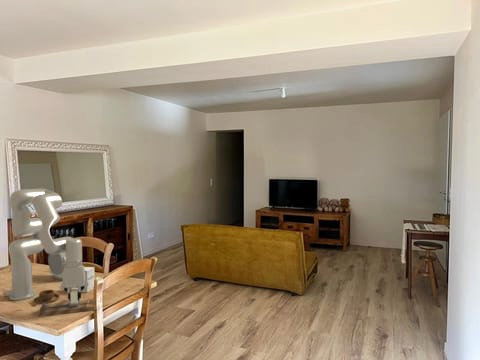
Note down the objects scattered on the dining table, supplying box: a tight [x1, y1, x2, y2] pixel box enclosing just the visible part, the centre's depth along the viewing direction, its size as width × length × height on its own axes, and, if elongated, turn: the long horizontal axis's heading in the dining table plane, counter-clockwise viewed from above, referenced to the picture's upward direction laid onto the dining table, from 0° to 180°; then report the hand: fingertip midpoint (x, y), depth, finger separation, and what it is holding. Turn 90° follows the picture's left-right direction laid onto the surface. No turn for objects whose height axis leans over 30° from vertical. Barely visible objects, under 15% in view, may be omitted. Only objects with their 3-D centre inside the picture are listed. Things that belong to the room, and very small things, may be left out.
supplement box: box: [75, 266, 96, 294], centre depth 201 cm, size 7×7×13 cm
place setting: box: [30, 289, 60, 307], centre depth 185 cm, size 18×20×6 cm
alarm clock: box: [47, 252, 66, 282], centre depth 223 cm, size 18×8×20 cm, turn 59°
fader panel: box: [38, 298, 95, 318], centre depth 175 cm, size 26×10×4 cm, turn 108°
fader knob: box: [69, 287, 81, 307], centre depth 175 cm, size 4×7×7 cm, turn 18°
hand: (74, 299), depth 175 cm, fingers closed on fader knob, 3 cm apart
